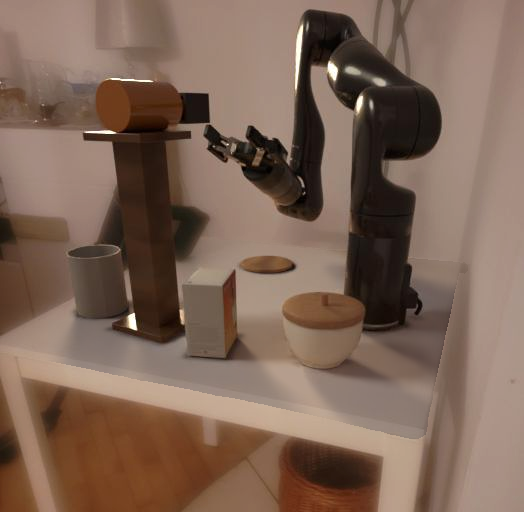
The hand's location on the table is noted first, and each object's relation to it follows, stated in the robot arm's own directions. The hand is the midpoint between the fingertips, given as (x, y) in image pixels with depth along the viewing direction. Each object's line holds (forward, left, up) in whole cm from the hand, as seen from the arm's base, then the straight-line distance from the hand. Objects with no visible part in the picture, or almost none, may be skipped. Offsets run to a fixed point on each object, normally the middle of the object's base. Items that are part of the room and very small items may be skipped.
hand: (226, 130), depth 81 cm
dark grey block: (+6, +8, +3) cm, 11 cm away
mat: (-8, -13, -27) cm, 32 cm away
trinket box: (-10, +31, -28) cm, 43 cm away
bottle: (+10, +13, +1) cm, 17 cm away
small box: (+4, +25, -28) cm, 38 cm away
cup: (+23, +9, -28) cm, 37 cm away
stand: (+13, +17, -27) cm, 35 cm away
